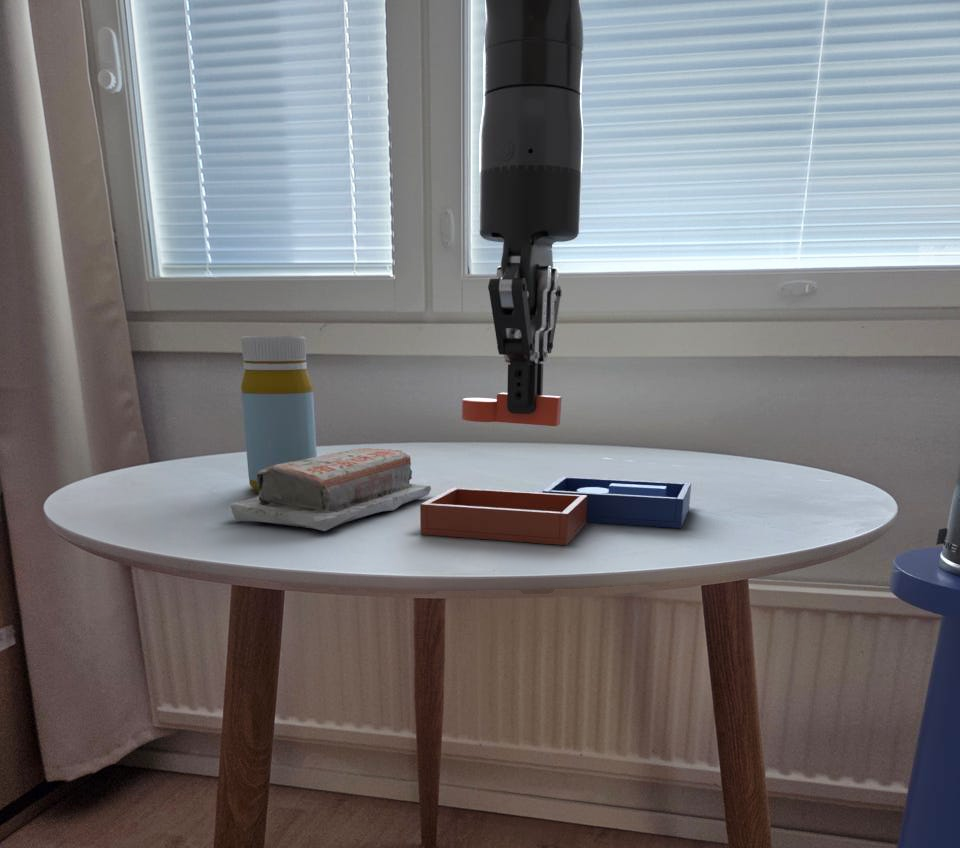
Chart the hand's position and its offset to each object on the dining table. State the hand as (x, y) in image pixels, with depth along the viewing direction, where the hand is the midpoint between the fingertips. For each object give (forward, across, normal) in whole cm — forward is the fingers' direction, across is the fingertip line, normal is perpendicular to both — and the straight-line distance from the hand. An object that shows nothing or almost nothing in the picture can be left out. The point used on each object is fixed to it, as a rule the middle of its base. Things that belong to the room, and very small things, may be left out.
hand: (524, 411), depth 70 cm
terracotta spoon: (+1, 0, +1) cm, 1 cm away
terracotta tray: (+10, 0, +1) cm, 10 cm away
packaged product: (+10, +3, +18) cm, 21 cm away
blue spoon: (+9, +9, -7) cm, 14 cm away
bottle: (+10, +11, +28) cm, 32 cm away
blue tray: (+10, +9, -7) cm, 15 cm away
